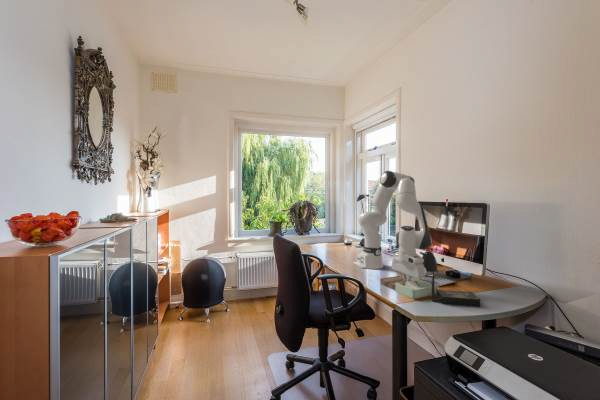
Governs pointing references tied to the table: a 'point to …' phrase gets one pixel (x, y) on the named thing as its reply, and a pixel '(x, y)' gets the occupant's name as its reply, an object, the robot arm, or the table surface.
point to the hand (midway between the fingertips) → (406, 282)
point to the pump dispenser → (429, 262)
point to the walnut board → (393, 281)
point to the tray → (416, 290)
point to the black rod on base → (455, 297)
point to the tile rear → (411, 284)
